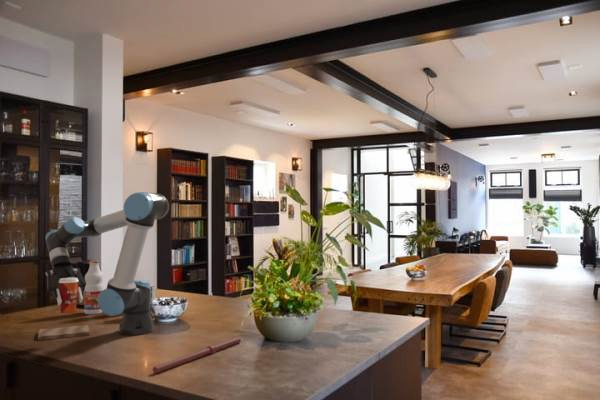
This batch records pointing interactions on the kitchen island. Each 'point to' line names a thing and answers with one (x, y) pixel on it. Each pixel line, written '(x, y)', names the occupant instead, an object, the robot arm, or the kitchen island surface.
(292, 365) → the kitchen island surface
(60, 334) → the walnut board
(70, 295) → the paper cup
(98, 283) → the fruit juice
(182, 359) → the brown thin rod
